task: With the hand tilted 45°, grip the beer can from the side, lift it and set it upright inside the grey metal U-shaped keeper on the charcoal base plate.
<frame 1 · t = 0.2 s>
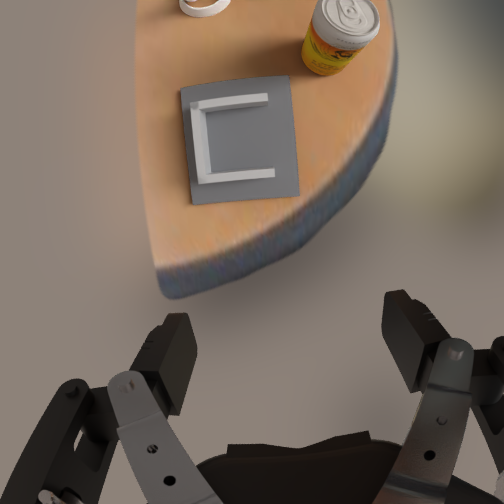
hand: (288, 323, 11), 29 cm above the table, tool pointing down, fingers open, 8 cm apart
beer can: (323, 57, 32), on the table
keeper: (240, 138, 36), on the table
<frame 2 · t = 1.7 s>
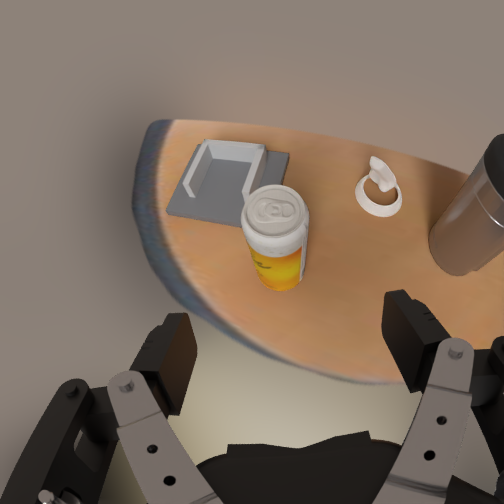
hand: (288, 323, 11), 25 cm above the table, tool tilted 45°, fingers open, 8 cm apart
hook: (378, 196, 41), on the table
beer can: (281, 271, 39), on the table
keeper: (229, 184, 45), on the table
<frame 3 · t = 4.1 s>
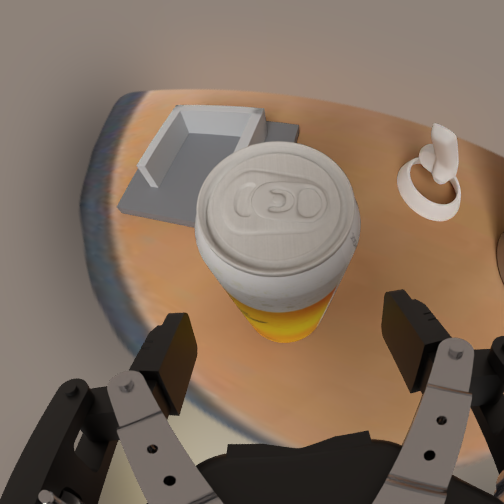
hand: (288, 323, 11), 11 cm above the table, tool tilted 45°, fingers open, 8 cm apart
hook: (428, 190, 26), on the table
beer can: (285, 306, 23), on the table
keeper: (210, 168, 30), on the table
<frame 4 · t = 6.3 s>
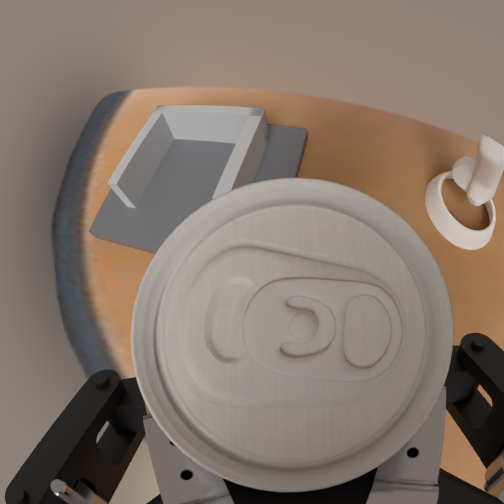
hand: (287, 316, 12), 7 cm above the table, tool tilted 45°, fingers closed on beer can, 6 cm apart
hook: (459, 211, 21), on the table
beer can: (291, 363, 18), on the table, touching gripper
keeper: (199, 183, 25), on the table
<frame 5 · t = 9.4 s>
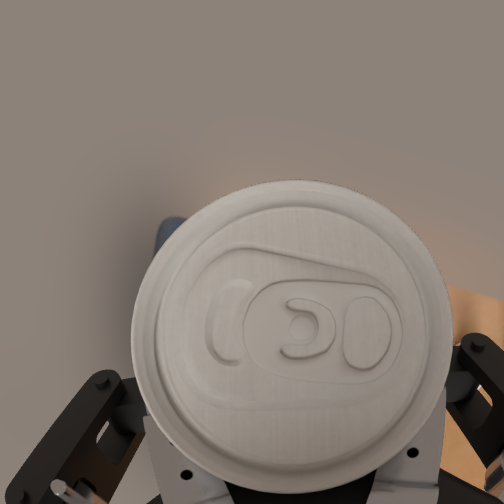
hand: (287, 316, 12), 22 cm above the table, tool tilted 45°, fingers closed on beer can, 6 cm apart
beer can: (291, 364, 18), point 15 cm above the table, touching gripper
when the fingers open (10 cm above the table, at t = 12.3 s): beer can drops 1 cm, resting on keeper.
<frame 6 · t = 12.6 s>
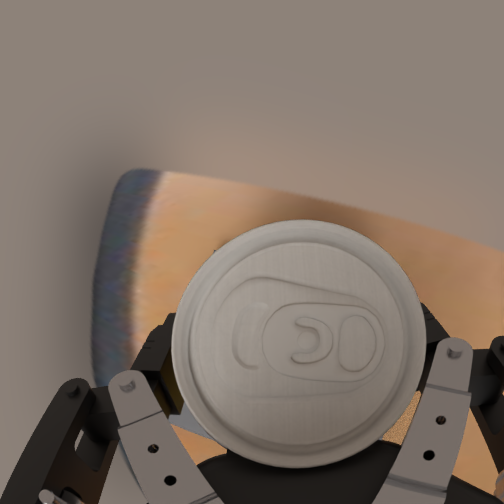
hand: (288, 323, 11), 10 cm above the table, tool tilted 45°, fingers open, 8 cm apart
beer can: (293, 367, 19), point 1 cm above the table, touching keeper
keeper: (290, 365, 20), on the table
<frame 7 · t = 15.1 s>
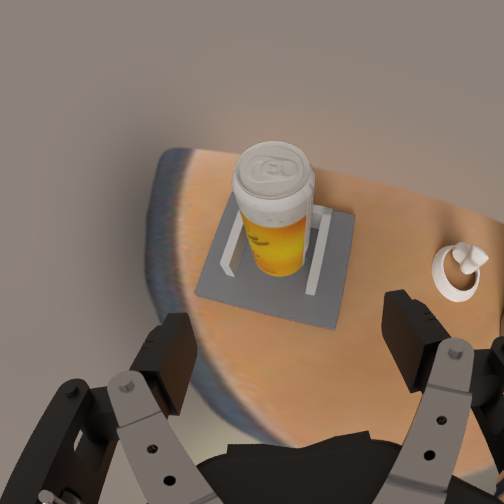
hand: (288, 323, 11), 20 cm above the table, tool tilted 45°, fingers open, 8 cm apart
hook: (454, 274, 31), on the table
beer can: (280, 254, 33), point 1 cm above the table, touching keeper
keeper: (279, 256, 35), on the table
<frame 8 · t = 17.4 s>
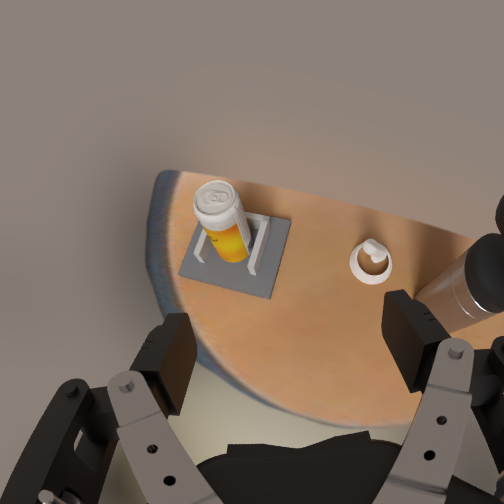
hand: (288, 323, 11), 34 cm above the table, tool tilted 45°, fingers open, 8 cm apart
hook: (370, 263, 47), on the table
beer can: (235, 248, 49), point 1 cm above the table, touching keeper
keeper: (235, 249, 50), on the table
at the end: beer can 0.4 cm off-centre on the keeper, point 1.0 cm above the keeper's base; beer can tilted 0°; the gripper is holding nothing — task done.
